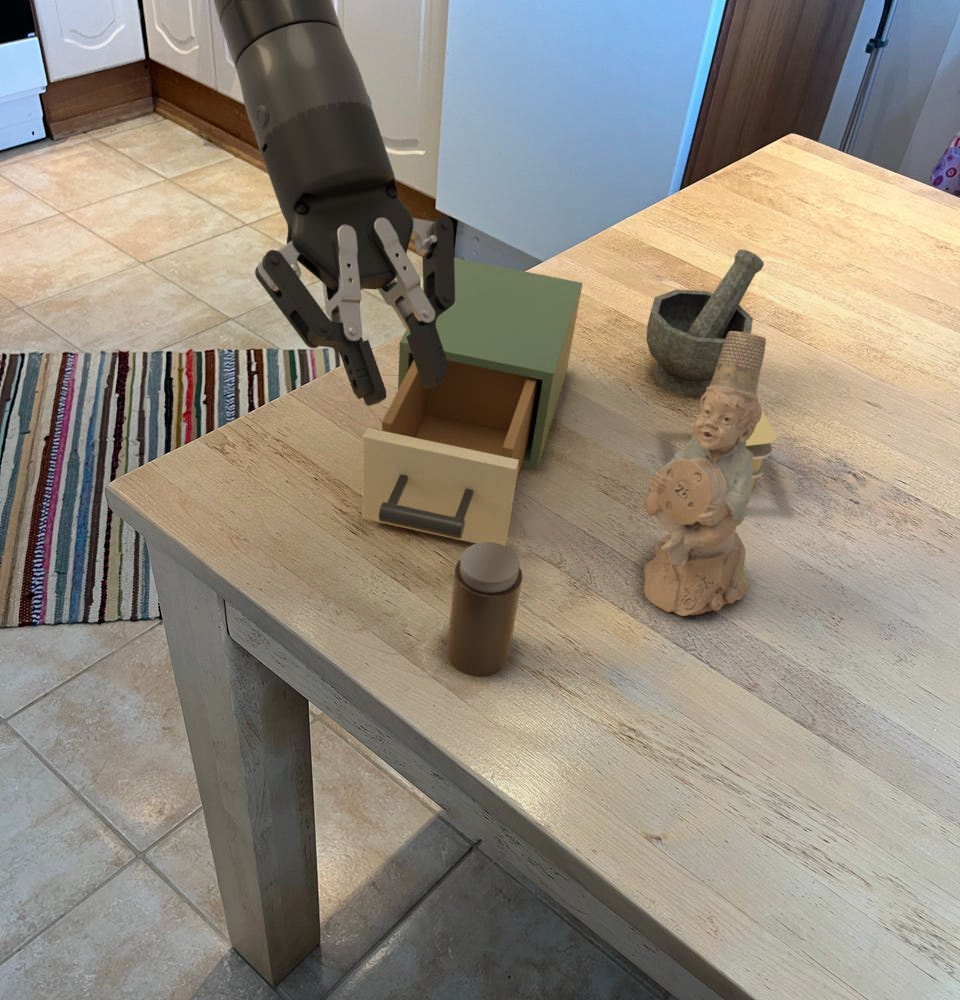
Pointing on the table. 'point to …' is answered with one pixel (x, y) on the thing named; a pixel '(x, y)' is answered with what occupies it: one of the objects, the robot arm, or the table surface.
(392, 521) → the drawer
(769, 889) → the table surface
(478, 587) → the pepper mill
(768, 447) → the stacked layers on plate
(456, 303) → the cabinet
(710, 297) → the mortar and pestle
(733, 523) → the figurine
